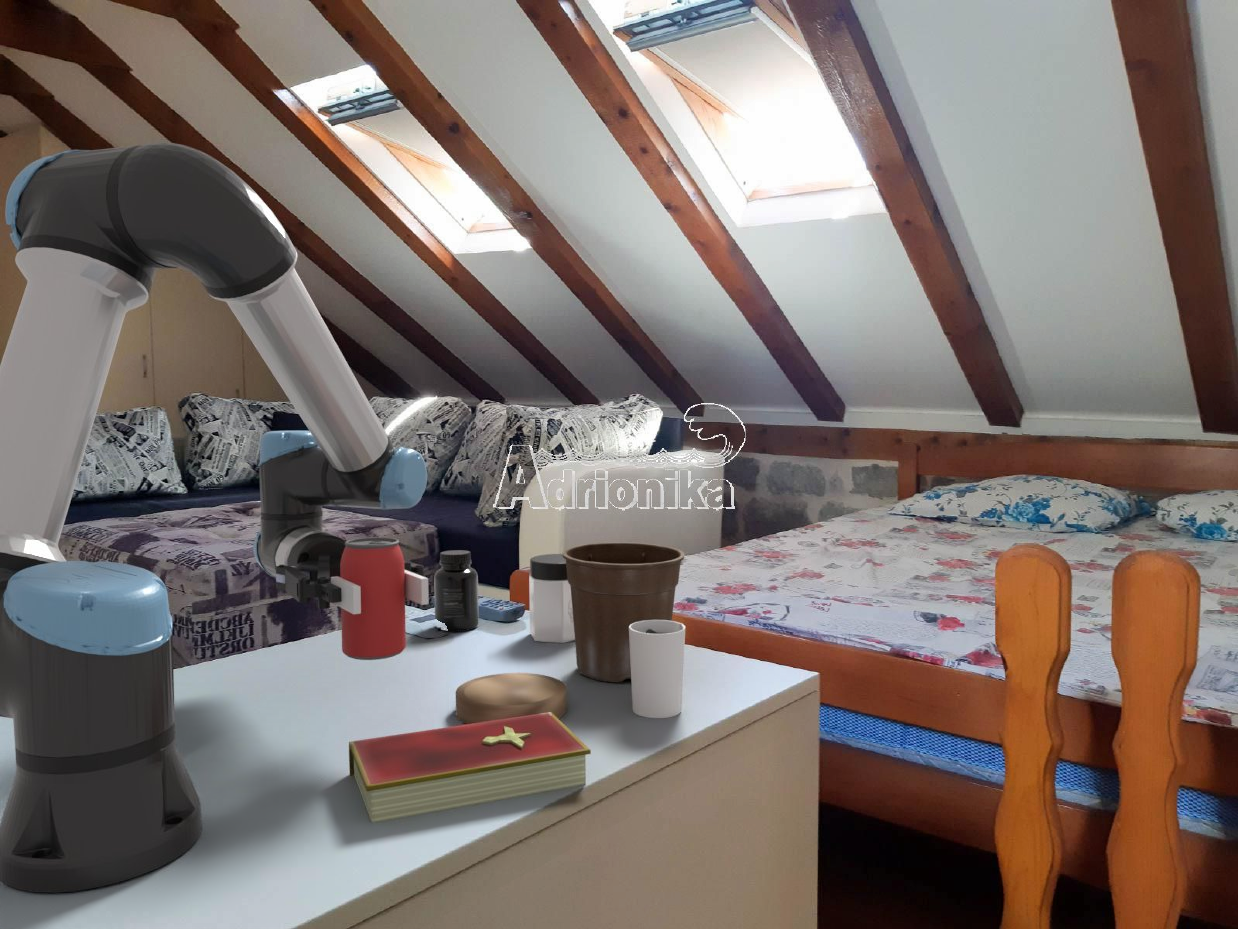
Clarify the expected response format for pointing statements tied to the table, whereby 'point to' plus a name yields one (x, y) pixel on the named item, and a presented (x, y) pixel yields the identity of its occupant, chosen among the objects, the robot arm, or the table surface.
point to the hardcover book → (466, 765)
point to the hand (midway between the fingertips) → (391, 595)
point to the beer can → (374, 598)
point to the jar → (550, 600)
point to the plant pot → (617, 600)
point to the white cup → (657, 667)
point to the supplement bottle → (456, 591)
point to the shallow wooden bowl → (509, 697)
